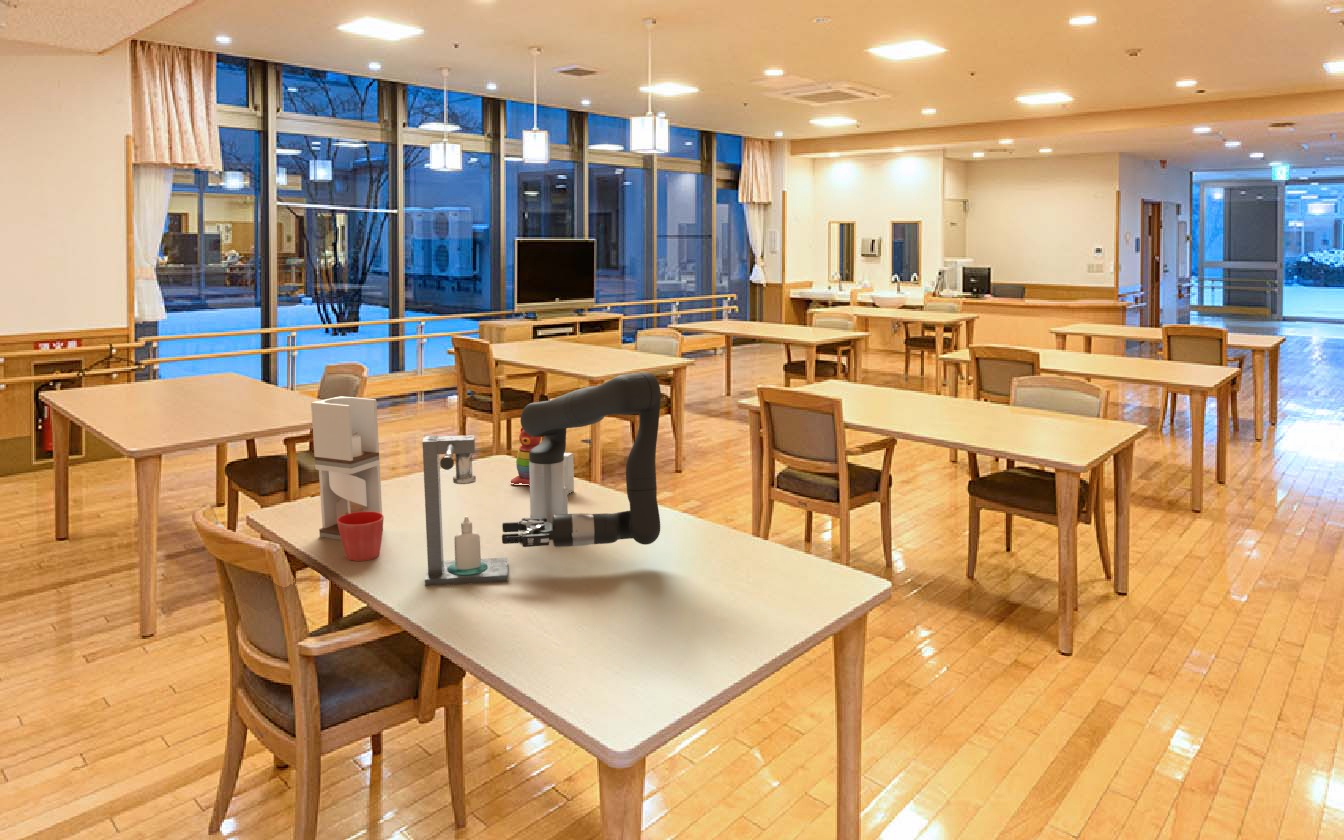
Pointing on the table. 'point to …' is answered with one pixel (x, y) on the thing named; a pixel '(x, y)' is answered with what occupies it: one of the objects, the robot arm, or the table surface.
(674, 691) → the table surface
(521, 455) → the stacking bear
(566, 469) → the skincare box
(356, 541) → the flower pot
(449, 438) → the arbor press
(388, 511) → the table surface
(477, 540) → the eye dropper bottle
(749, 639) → the table surface
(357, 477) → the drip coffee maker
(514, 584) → the table surface
